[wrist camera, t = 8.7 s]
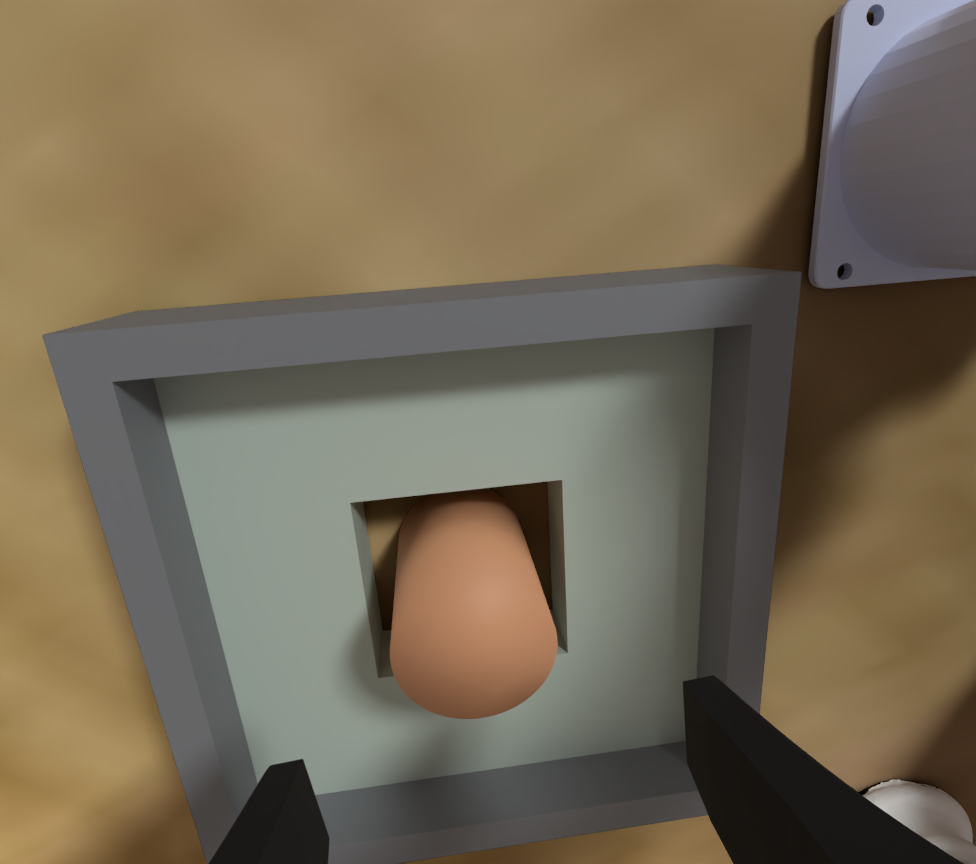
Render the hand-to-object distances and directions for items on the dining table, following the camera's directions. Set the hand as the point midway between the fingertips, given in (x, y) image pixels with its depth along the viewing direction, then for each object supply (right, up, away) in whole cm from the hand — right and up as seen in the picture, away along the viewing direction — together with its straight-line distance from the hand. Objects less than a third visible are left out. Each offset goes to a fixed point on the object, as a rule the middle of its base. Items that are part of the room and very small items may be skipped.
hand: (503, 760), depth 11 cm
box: (-1, +2, +10) cm, 10 cm away
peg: (-1, +2, +10) cm, 10 cm away
